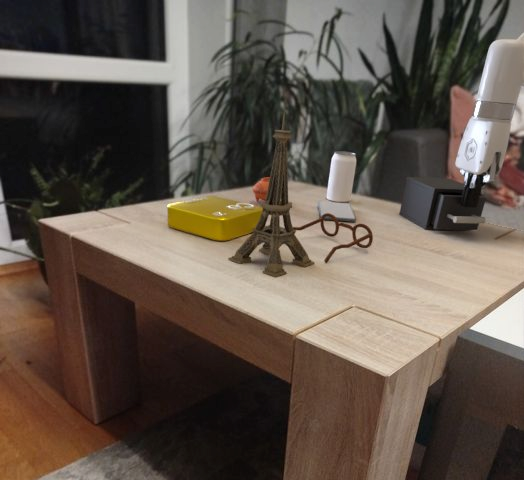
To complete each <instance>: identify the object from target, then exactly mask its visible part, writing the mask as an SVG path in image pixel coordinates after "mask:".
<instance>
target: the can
mask: <svg viewBox="0 0 524 480" xmlns="http://www.w3.org/2000/svg"><path fill="white" fill-rule="evenodd" d="M356 155H357V153H355V152H350V151H341V150H338V151H334V154H333V155H332V157H331V162H330V168H329V174H328V175H329V177H328V183H327V191H326V199H327V201H328V202H338V203H349V202H350V201H351V200H352V192H353V188H354V187H353V186H354V180H355V175H356V174H355V173H356V168H357V158H356V157H357V156H356Z"/></svg>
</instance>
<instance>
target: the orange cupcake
mask: <svg viewBox="0 0 524 480" xmlns="http://www.w3.org/2000/svg"><path fill="white" fill-rule="evenodd" d="M269 180H270V176H266V177H262V178H261V179H260V180H259V181H257V182H256V183H255V184H254V186H253V187H252V193H253V194H254V198H255V201H256V202H257V203H259V202H260V200H262V201H264V202H265V200H266V195H267V190H268V185H269ZM273 198H274V197H273Z"/></svg>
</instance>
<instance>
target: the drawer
mask: <svg viewBox="0 0 524 480" xmlns="http://www.w3.org/2000/svg"><path fill="white" fill-rule="evenodd" d="M462 194H463V193H443V192H437V195H436V199H435V204H434V208H433V212H432V217H431V221H430V224H432V225H434V227H433V228H434V229H436V230H439V231H478V228H479V225H480V224H485V223H486V220H487V219H486V217H485V216H482V214H483V212H484V207H485V203H486V200H487V197H486V196H484V195H480V197H479V201H478V204H477V207H475V208H473V207H463V206H461V205H460V201H461V198H462Z"/></svg>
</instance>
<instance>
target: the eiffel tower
mask: <svg viewBox="0 0 524 480" xmlns="http://www.w3.org/2000/svg"><path fill="white" fill-rule="evenodd" d="M286 102H287V100H284V106H286V105H287V103H286ZM283 109H284V110H283V115H282V123H281V129H275V130H274V132H275V133H274V134H273V135H272V137H273V138H274V139H275V140H276V142H275V143H276V144H275V149H274V153H273V160H272V164H271V170H270V176H269V177H270V180H269V185H268V190H267V195H266V200H265V201H264V200H262V201H261V203H260V205H259V206H260V207H262V208H263V211H262V213H261V216H260V219H259V222H258V224H257V225H256V227H255V228H252V229H253V231H254V232H252V233H251V234H250V235H249V237H248V238H247V239H246V240H244V242H243V243H242V244H241V245H240V247H239V248H238V249H237V250H236V251H235V254H234V255H232V256H230V257H228V258H227V259H228V261H230V262H233V263H235V264H238V265H241V264H245V263H248V262H252V256H251V255H252V253H253V252H254V251H255V250H256V248H257V247H258V246H260V245H261V244H262V247H261V248H259V249H258V252H259V253H263V254H266V255H268V259H267V263H266V267H265V268H264V270H262V273H263V274H266V275H267V276H271V277H273V278H278V277H281V276H283V275H286V274H287V271H285V268H284V264H283V261H282V257H281V250H280V248H281V247H282V246H283V245H285V246H286V247H287V248H288V249H289V251H290V253H291V254H292V256H293V258H292V260H291V261H292V262H291V263H292V264H294V265H297V266H299V267H303V268H306V267H309V266H313V265H315V263H316V262H315V261H313V260H311V259H310V257H309V254H308V253H307V251H306V250H305V248H304V246H303V245H302V244H301V242H300V241H299V239H298V237H297V236H296V232H297V230H294V229H293V227H294V226H293V224H292V218H291V212H290V210H291V209H292V208H293V203H292V202H289V179H288V178H289V175H288V141H289V140H291V139H292V138H293V136H292V135H291V133H292V131H291V130H286V129H285V128H286V126H285V125H286V124H285V123H286V107H283ZM273 197H274V198H273ZM269 216H270V221H269V224H268V225H267V221H268V219H269ZM281 216H282V221H283V226H280V220H281V219H280V217H281Z"/></svg>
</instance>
